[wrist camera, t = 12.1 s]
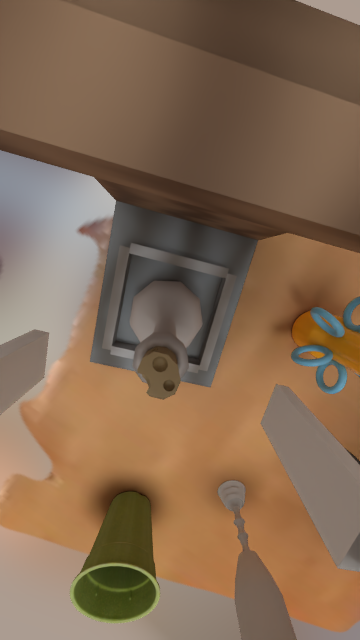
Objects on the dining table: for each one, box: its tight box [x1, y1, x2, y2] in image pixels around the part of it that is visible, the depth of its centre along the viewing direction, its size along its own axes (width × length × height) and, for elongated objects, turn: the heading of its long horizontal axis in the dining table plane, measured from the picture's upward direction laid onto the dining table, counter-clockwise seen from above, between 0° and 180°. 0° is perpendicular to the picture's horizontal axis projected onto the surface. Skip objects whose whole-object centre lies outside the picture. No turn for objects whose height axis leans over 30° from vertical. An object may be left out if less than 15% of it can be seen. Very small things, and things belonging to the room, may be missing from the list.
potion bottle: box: [130, 281, 203, 399], centre depth 21 cm, size 9×9×18 cm
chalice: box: [218, 480, 297, 640], centre depth 31 cm, size 7×7×18 cm
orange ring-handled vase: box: [291, 297, 360, 394], centre depth 25 cm, size 12×10×15 cm
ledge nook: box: [0, 0, 360, 387], centre depth 19 cm, size 18×23×23 cm
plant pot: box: [70, 492, 160, 623], centre depth 34 cm, size 12×12×11 cm
